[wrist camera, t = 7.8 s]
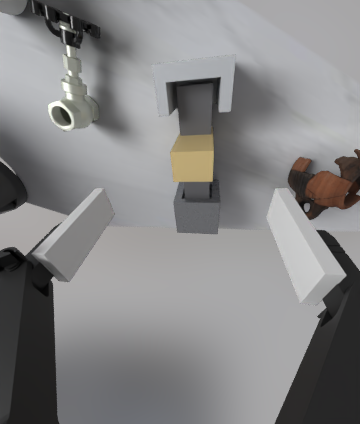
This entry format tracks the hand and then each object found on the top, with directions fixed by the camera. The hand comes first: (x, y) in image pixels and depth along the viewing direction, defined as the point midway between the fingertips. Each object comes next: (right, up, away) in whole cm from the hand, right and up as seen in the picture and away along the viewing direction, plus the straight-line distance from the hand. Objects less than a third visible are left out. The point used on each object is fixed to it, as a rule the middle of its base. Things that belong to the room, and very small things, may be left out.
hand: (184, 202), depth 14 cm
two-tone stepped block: (+2, +9, +14) cm, 17 cm away
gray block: (+4, +3, +21) cm, 22 cm away
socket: (+2, +17, +10) cm, 19 cm away
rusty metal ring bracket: (+23, +5, +16) cm, 29 cm away
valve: (-14, +19, +11) cm, 26 cm away
